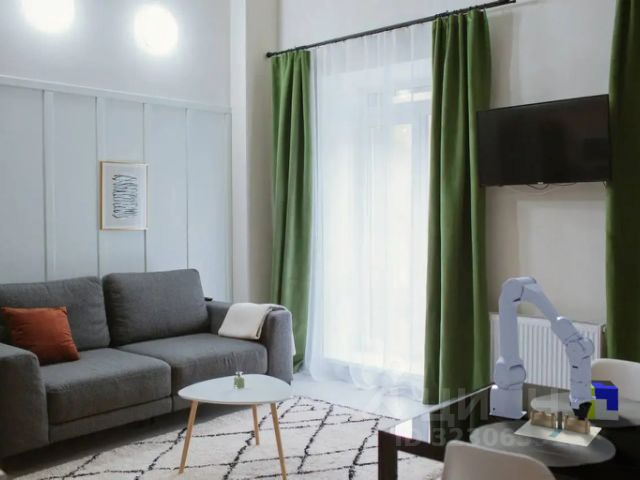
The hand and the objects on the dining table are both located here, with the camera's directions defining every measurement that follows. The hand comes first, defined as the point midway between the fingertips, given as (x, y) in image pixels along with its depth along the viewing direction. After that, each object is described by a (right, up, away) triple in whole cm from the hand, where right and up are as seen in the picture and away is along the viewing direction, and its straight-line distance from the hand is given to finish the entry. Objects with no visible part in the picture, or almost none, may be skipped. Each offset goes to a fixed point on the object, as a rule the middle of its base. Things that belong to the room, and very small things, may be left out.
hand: (581, 427), depth 187 cm
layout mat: (-6, -2, +1) cm, 7 cm away
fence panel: (-1, -1, 0) cm, 2 cm away
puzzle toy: (+11, -1, +16) cm, 19 cm away
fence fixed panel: (-8, -1, +5) cm, 10 cm away
